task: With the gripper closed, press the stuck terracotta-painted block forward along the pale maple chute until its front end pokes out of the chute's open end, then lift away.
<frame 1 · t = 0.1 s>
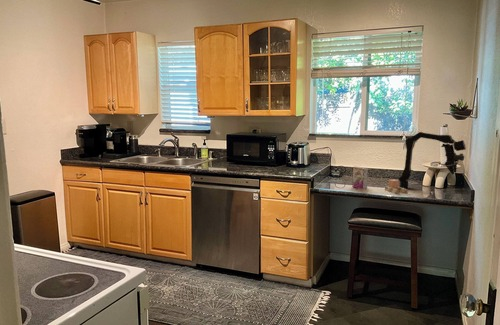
hand: (454, 173, 287), 15 cm above the countertop, tool pointing down, fingers open, 9 cm apart
candy bar box: (359, 188, 312), on the countertop
terracotta block: (393, 185, 299), point 5 cm above the countertop, slide at 0.0 cm
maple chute: (395, 192, 296), on the countertop
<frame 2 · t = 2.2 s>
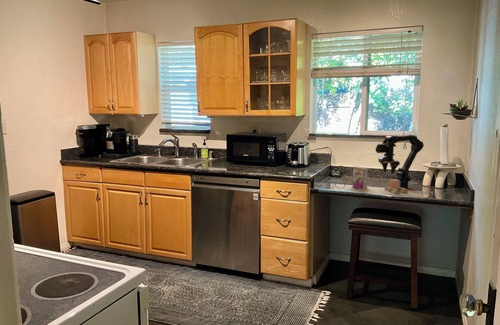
hand: (388, 172, 304), 13 cm above the countertop, tool pointing down, fingers open, 9 cm apart
nothing on the countertop moved.
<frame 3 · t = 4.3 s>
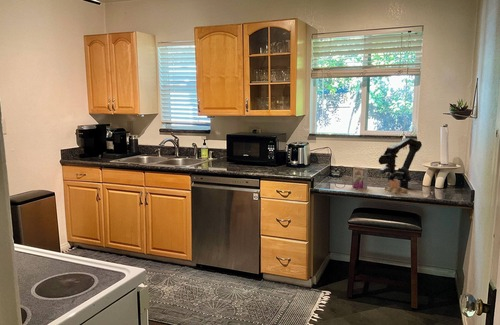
hand: (390, 183, 303), 5 cm above the countertop, tool pointing down, fingers closed
terracotta block: (393, 185, 298), point 5 cm above the countertop, slide at 0.4 cm, touching gripper
everything else where it was.
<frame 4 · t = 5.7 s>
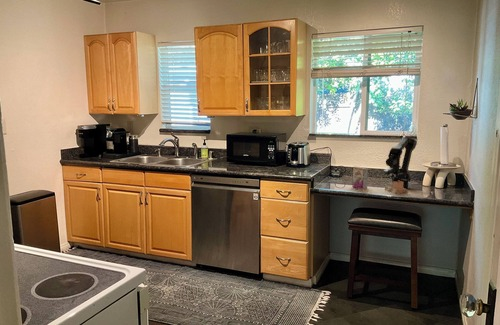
hand: (394, 185, 297), 5 cm above the countertop, tool pointing down, fingers closed
terracotta block: (398, 187, 293), point 5 cm above the countertop, slide at 5.8 cm, touching gripper
everything else where it was.
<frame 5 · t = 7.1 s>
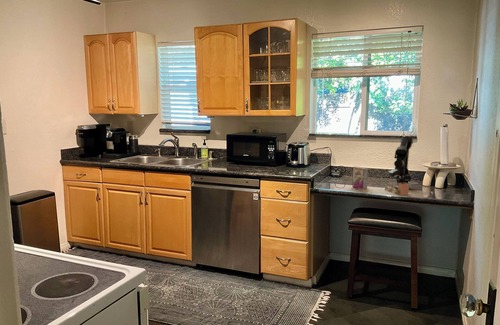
hand: (399, 187, 291), 5 cm above the countertop, tool pointing down, fingers closed
terracotta block: (403, 188, 287), point 5 cm above the countertop, slide at 12.0 cm, touching gripper
everything else where it was.
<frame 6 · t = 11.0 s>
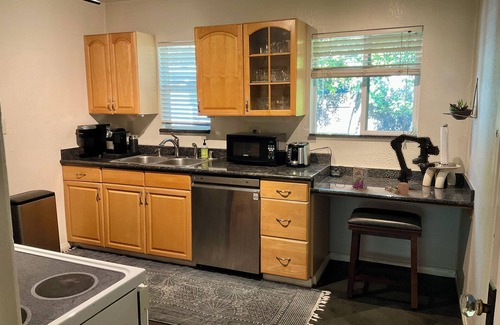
hand: (422, 175, 295), 13 cm above the countertop, tool pointing down, fingers closed
terracotta block: (403, 188, 287), point 5 cm above the countertop, slide at 12.0 cm
everything else where it was.
at the end: terracotta block slide at 12.0 cm; terracotta block 1.2 cm from the target spot, point 4.7 cm above the countertop; the gripper is holding nothing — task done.
